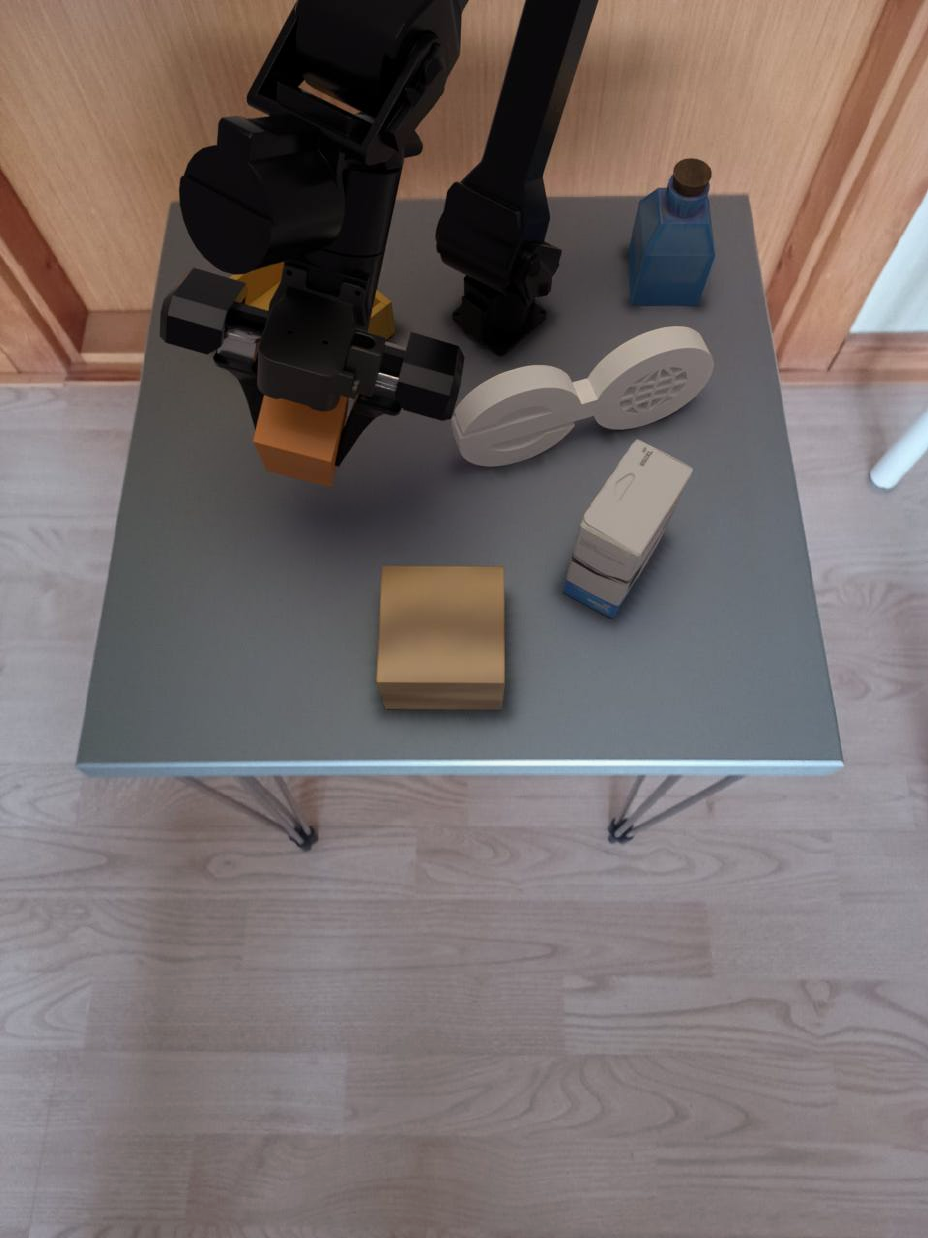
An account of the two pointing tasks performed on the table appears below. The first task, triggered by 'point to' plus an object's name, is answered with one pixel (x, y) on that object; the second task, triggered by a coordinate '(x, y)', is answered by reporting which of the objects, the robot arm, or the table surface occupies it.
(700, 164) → the perfume bottle
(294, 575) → the table surface
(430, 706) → the riser block
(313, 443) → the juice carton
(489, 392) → the white double disc
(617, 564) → the ink box
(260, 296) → the tray
